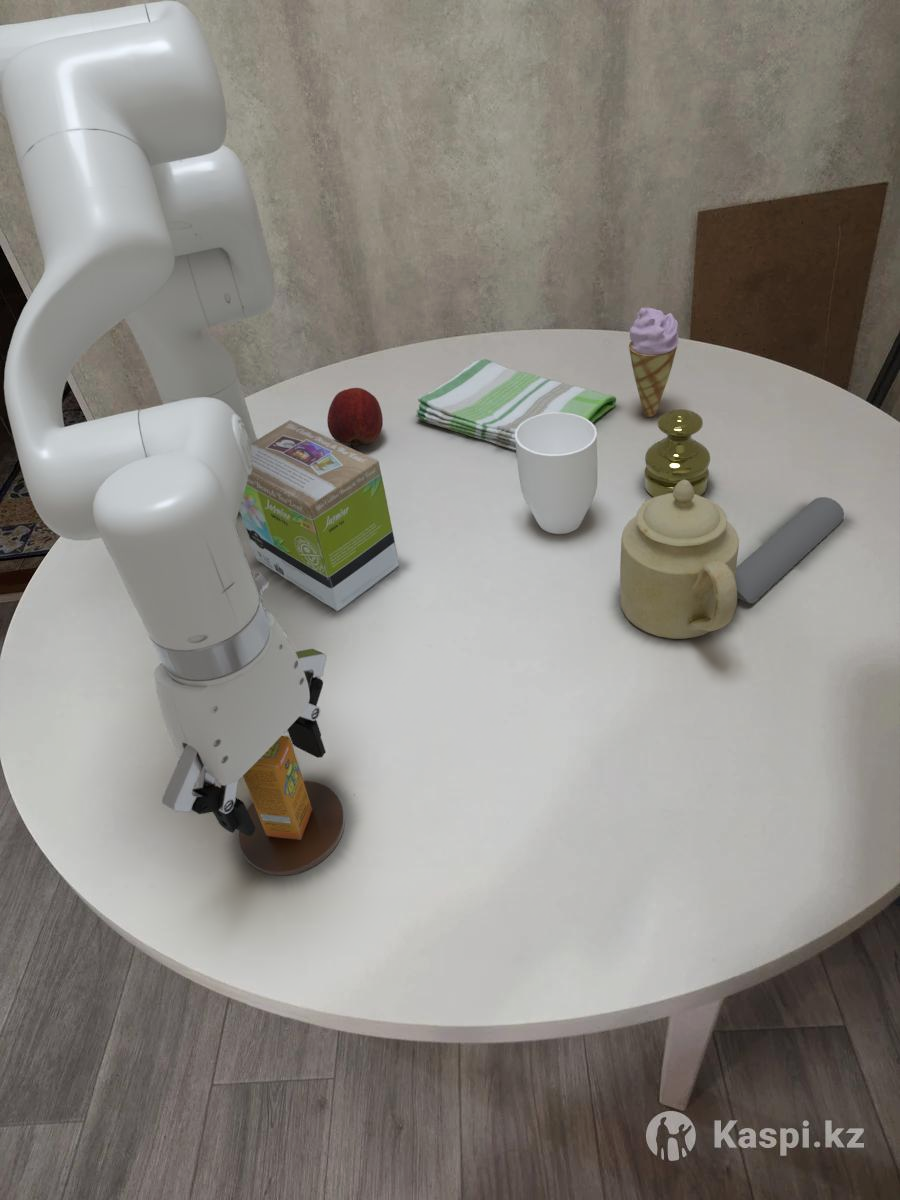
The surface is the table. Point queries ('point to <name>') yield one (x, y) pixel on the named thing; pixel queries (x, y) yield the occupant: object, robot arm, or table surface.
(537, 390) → the dish towel
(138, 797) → the table surface
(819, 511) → the gray half cylinder
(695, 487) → the brass weight
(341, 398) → the apple
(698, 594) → the sugar bowl
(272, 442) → the tea box
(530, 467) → the mug
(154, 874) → the table surface
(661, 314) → the ice cream cone
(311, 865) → the coaster
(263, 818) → the supplement box
